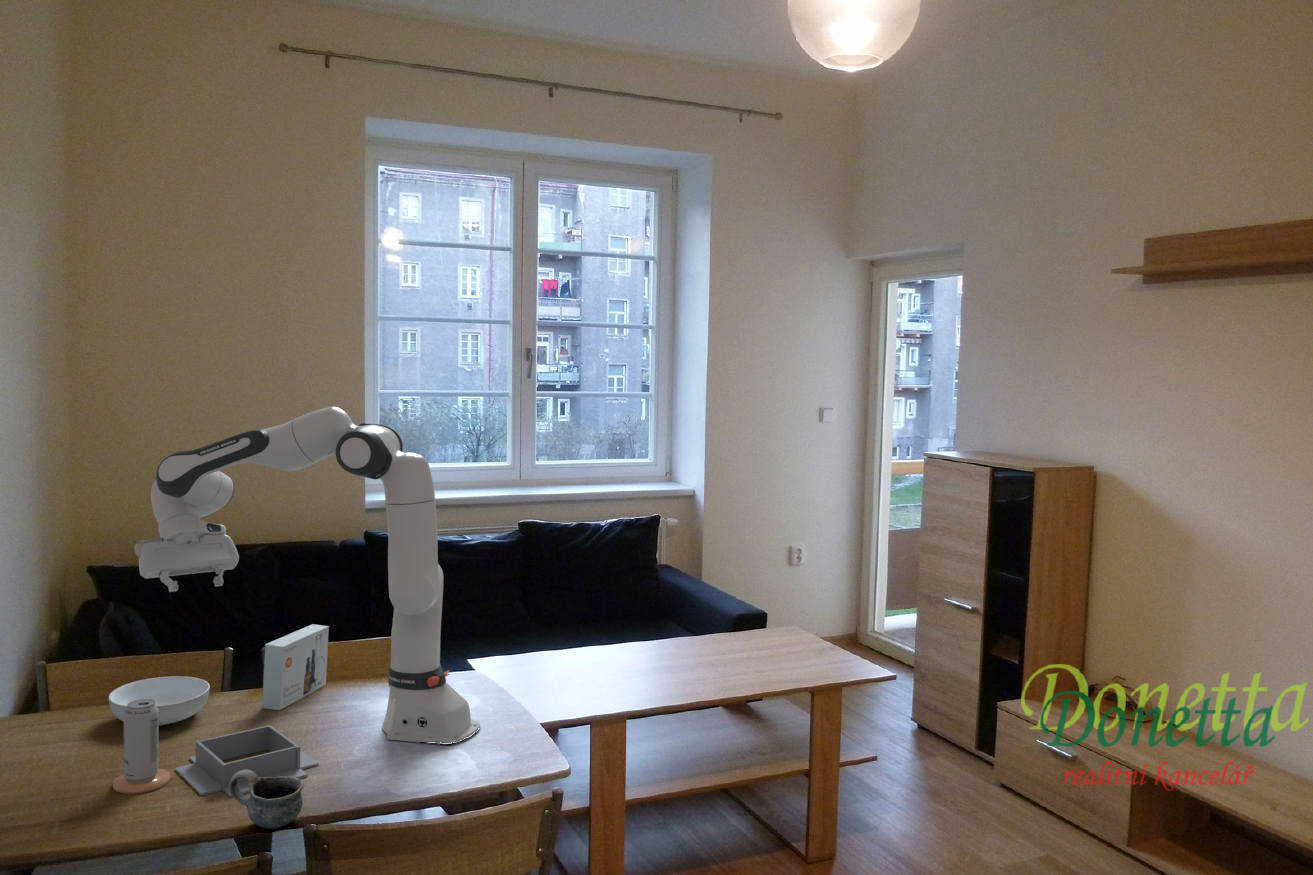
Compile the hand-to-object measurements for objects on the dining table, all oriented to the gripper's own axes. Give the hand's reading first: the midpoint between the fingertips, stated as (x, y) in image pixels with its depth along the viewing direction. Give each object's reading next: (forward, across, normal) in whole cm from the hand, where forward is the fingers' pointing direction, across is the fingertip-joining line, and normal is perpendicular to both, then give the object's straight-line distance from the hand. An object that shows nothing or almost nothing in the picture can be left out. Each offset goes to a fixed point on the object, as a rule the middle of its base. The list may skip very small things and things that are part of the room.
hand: (197, 587), depth 211 cm
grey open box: (+40, +2, +7) cm, 41 cm away
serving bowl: (+13, -3, +35) cm, 37 cm away
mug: (+60, -4, -12) cm, 61 cm away
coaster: (+37, -16, +10) cm, 41 cm away
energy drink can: (+36, -16, +10) cm, 41 cm away
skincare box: (+15, +28, +32) cm, 45 cm away
